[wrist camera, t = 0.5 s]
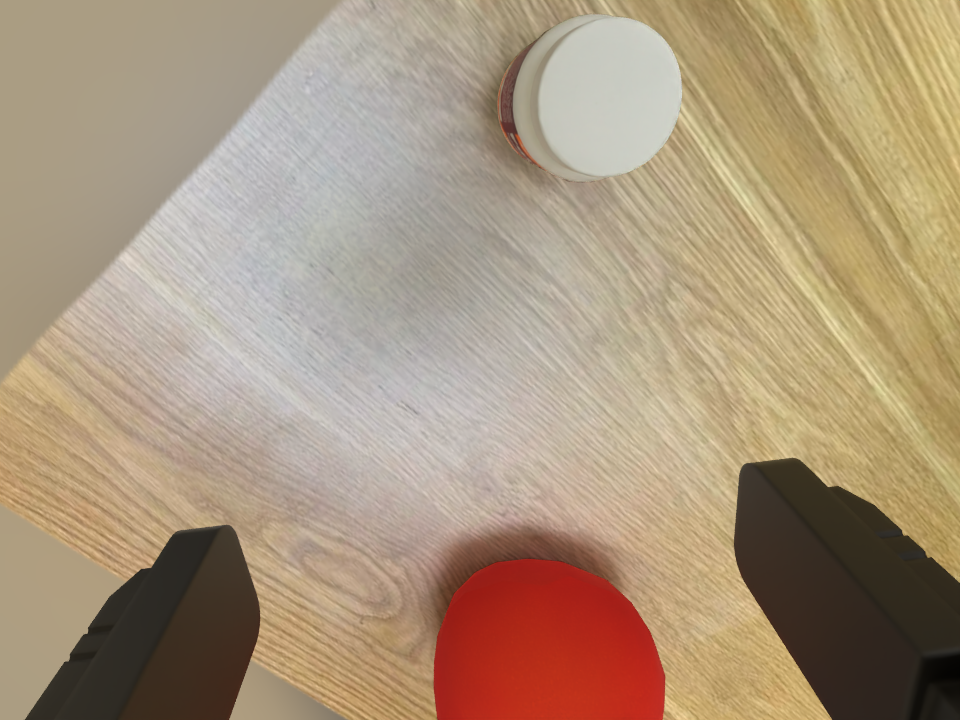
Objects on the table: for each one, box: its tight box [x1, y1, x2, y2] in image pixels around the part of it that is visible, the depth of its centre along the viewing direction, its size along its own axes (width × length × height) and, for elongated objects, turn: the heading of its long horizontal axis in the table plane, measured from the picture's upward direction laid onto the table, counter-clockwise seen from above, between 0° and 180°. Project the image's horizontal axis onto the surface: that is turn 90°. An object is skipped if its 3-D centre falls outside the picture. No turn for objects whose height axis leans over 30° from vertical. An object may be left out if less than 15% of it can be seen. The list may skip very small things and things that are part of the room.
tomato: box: [434, 559, 665, 720], centre depth 29 cm, size 11×13×10 cm
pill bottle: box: [497, 14, 682, 182], centre depth 20 cm, size 5×5×8 cm
